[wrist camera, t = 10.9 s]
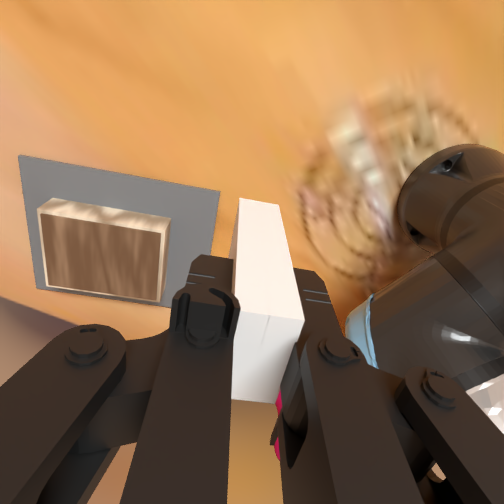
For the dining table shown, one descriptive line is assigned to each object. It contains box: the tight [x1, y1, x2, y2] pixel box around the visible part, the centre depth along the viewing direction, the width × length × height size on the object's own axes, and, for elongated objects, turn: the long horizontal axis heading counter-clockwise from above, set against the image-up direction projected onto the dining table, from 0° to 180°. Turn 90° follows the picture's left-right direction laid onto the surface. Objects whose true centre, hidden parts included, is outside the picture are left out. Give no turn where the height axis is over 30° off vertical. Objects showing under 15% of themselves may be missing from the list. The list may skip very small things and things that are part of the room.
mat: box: [18, 155, 220, 308], centre depth 49 cm, size 26×21×1 cm
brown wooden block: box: [37, 198, 171, 303], centre depth 47 cm, size 4×12×16 cm
